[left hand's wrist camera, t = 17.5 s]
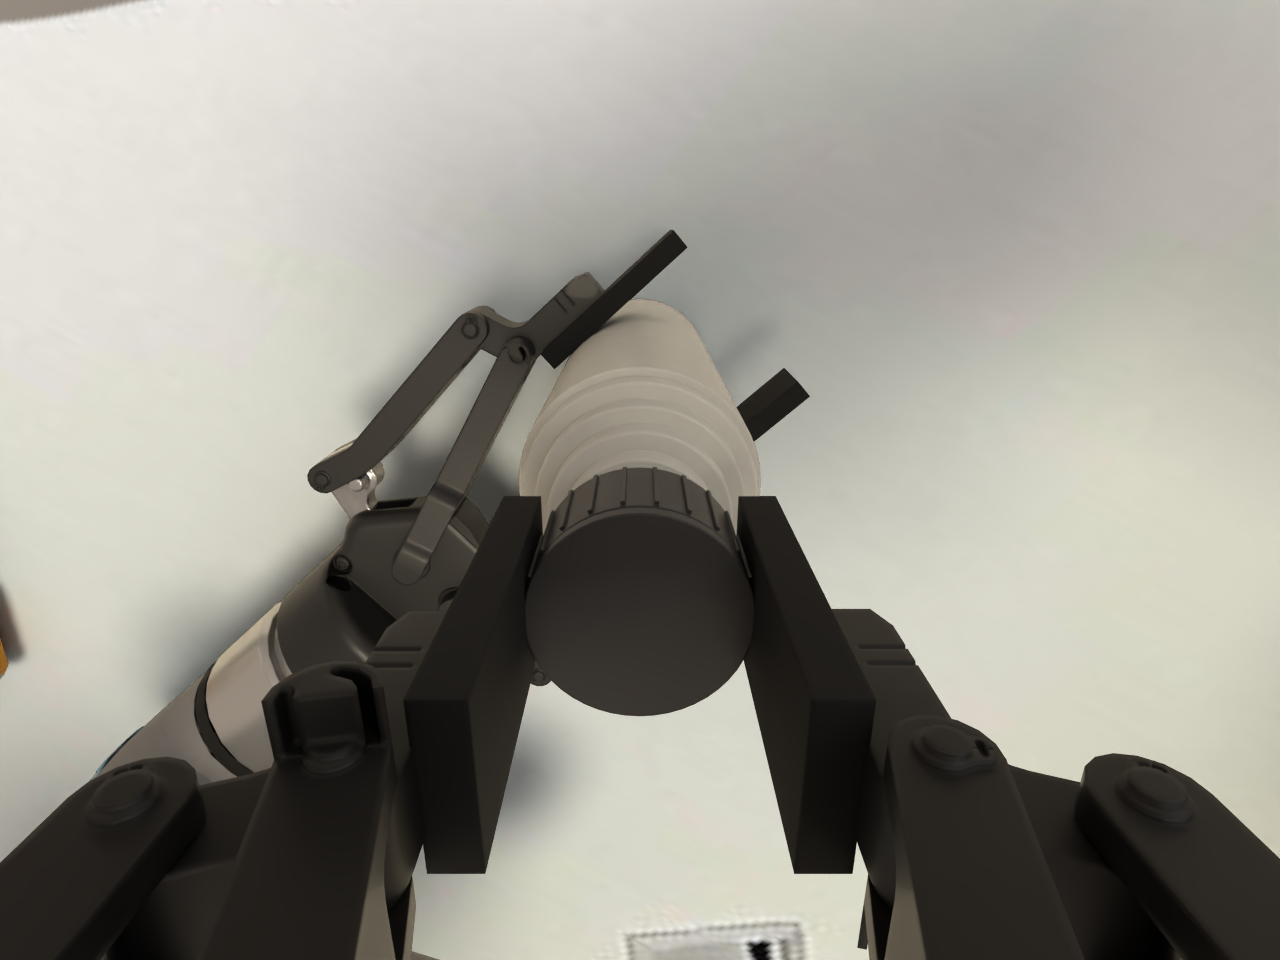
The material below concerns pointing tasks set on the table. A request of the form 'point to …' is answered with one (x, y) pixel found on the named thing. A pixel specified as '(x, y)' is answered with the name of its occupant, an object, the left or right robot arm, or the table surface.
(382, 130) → the table surface
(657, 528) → the cap
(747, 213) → the table surface
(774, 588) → the left robot arm
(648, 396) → the bottle
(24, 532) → the table surface
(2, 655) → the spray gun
